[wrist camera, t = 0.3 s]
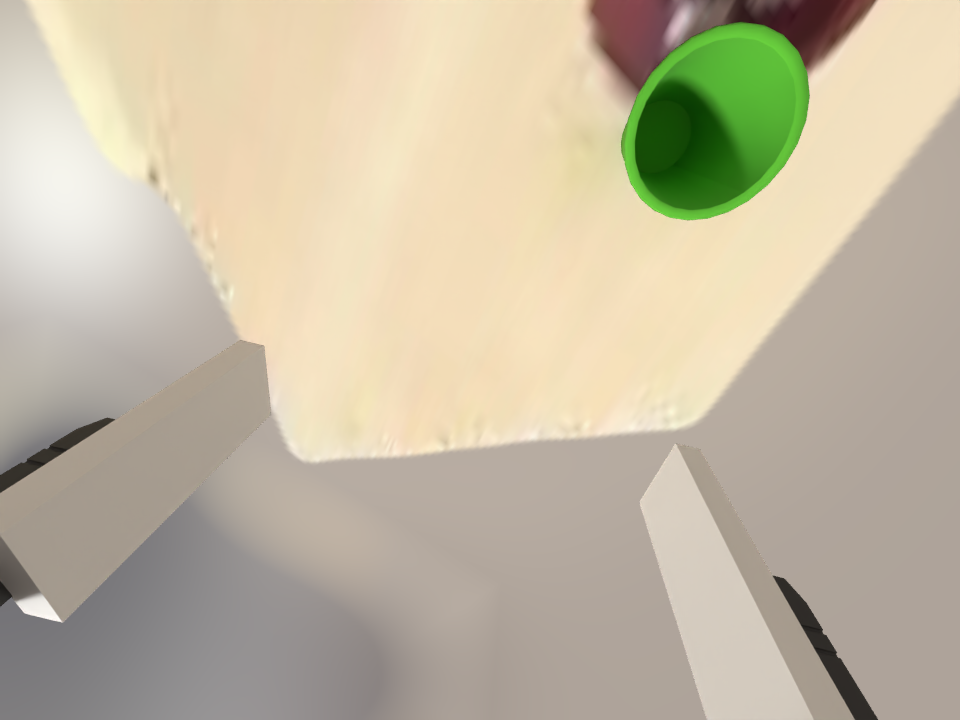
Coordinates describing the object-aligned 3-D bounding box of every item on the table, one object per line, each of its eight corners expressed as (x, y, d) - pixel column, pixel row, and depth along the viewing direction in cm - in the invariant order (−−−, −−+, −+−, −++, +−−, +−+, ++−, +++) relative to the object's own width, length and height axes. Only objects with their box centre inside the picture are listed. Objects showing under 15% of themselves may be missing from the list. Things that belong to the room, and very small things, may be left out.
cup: (681, 33, 26) (766, -34, 17) (738, 145, 29) (839, 141, 20) (573, 132, 30) (593, 122, 20) (633, 223, 33) (675, 252, 23)
